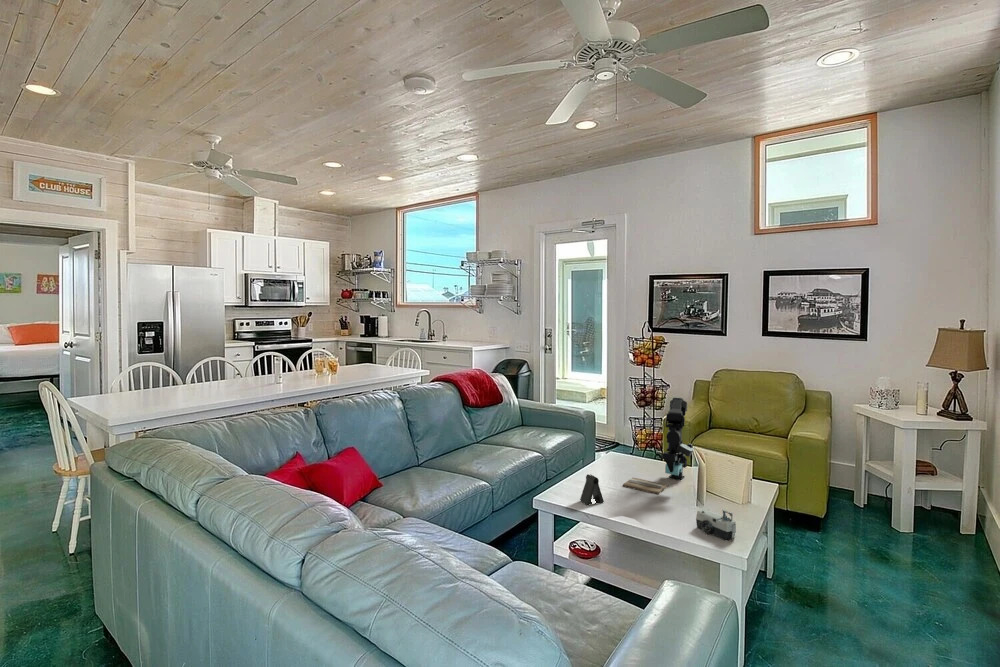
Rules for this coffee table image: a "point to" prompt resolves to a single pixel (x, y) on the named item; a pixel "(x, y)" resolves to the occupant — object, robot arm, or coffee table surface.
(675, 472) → the block
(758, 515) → the coffee table surface
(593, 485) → the phone stand
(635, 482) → the rail plate
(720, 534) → the camera
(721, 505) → the coffee table surface
